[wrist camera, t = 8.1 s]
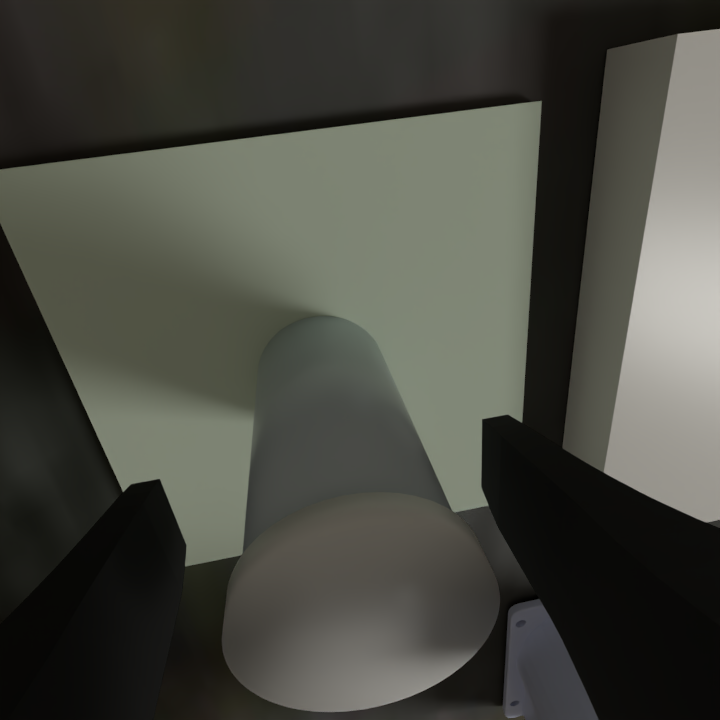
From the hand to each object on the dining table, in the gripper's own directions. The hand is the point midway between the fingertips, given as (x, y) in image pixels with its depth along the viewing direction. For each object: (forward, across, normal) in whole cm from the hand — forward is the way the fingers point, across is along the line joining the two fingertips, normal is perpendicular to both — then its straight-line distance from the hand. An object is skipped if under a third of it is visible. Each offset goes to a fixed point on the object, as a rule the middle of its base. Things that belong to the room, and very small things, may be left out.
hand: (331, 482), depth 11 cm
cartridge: (+5, 0, 0) cm, 5 cm away
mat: (+5, 0, 0) cm, 5 cm away
